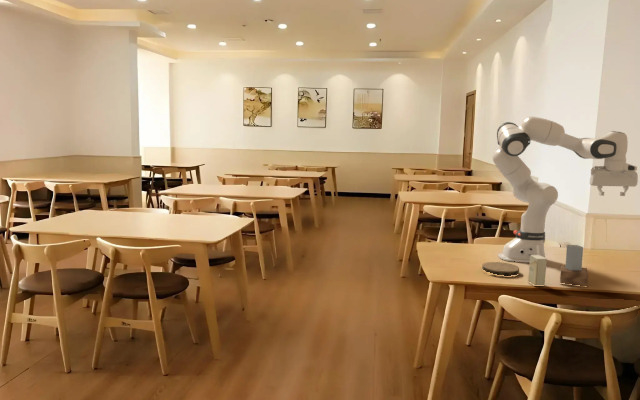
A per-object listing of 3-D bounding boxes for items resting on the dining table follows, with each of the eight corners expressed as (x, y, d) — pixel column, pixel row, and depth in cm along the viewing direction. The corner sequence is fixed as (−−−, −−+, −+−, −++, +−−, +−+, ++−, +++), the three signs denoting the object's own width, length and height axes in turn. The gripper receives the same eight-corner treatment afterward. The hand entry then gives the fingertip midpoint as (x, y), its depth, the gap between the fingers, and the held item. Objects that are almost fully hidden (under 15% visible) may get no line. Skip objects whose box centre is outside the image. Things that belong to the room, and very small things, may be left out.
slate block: (571, 270, 211) (572, 247, 210) (565, 267, 215) (567, 244, 214) (581, 270, 211) (583, 247, 210) (575, 267, 216) (577, 245, 215)
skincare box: (527, 282, 213) (529, 254, 212) (537, 282, 214) (539, 254, 212) (535, 287, 207) (537, 258, 205) (545, 287, 207) (547, 258, 206)
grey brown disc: (516, 279, 218) (516, 273, 218) (478, 274, 226) (479, 268, 225) (521, 271, 232) (521, 264, 232) (485, 266, 240) (486, 260, 239)
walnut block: (560, 284, 212) (561, 270, 211) (560, 278, 221) (561, 265, 220) (586, 287, 207) (588, 273, 207) (585, 281, 216) (586, 268, 216)
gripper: (594, 166, 232) (592, 196, 234) (640, 167, 231) (637, 197, 232) (588, 165, 239) (586, 194, 240) (633, 166, 237) (630, 195, 239)
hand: (611, 195), depth 236 cm, fingers open, 8 cm apart
